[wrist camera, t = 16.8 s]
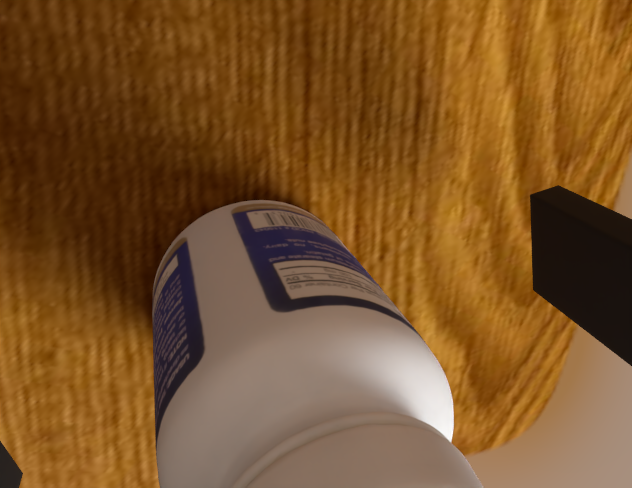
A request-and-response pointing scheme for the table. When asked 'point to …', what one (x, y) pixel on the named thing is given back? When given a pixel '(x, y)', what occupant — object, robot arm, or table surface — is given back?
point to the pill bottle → (290, 364)
